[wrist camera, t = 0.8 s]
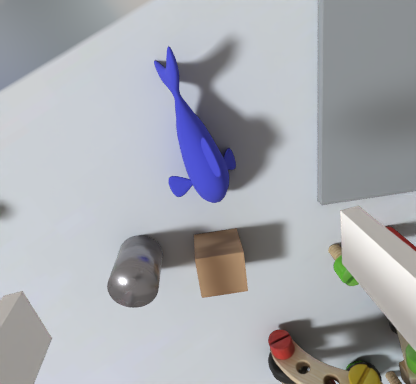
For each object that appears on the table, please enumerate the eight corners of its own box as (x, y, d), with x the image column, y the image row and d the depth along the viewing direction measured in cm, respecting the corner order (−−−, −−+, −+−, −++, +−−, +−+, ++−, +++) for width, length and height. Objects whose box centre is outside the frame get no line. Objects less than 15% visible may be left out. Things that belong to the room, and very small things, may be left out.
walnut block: (236, 228, 36) (243, 251, 31) (240, 263, 38) (247, 290, 33) (193, 234, 36) (194, 259, 31) (200, 269, 38) (201, 297, 33)
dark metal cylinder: (158, 232, 35) (152, 263, 30) (166, 268, 37) (162, 303, 32) (114, 238, 35) (101, 271, 30) (125, 274, 37) (114, 310, 32)
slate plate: (495, -29, 28) (508, -33, 26) (455, 179, 35) (464, 183, 34) (317, -3, 27) (323, -6, 26) (317, 200, 35) (321, 205, 34)
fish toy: (237, 179, 35) (270, 195, 29) (178, 210, 34) (200, 234, 27) (188, 42, 30) (217, 26, 23) (114, 71, 28) (124, 62, 22)
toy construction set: (282, 221, 36) (390, 395, 17) (460, 226, 38) (735, 389, 19) (254, 380, 46) (301, 602, 27) (395, 379, 48) (533, 585, 29)
